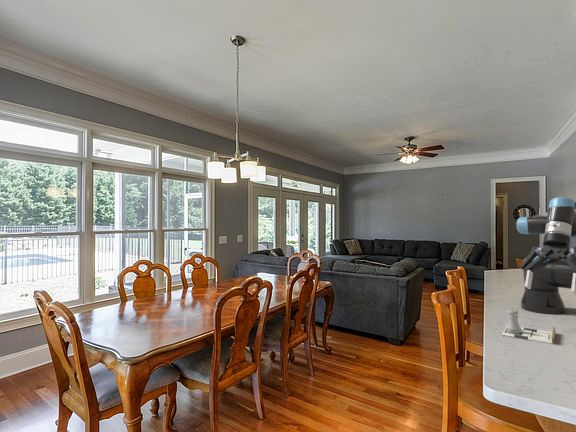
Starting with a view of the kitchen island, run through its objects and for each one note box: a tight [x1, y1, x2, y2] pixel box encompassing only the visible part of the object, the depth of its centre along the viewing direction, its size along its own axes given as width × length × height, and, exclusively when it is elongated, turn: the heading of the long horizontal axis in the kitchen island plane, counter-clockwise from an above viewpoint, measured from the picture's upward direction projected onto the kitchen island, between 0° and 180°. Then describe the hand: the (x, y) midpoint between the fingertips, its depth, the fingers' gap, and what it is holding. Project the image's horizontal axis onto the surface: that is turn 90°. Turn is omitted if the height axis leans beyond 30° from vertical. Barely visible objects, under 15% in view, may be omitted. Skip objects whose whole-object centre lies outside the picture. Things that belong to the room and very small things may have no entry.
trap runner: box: [501, 324, 556, 345], centre depth 111 cm, size 12×14×2 cm
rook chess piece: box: [506, 308, 523, 335], centre depth 114 cm, size 4×4×8 cm
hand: (549, 290), depth 113 cm, fingers open, 13 cm apart
